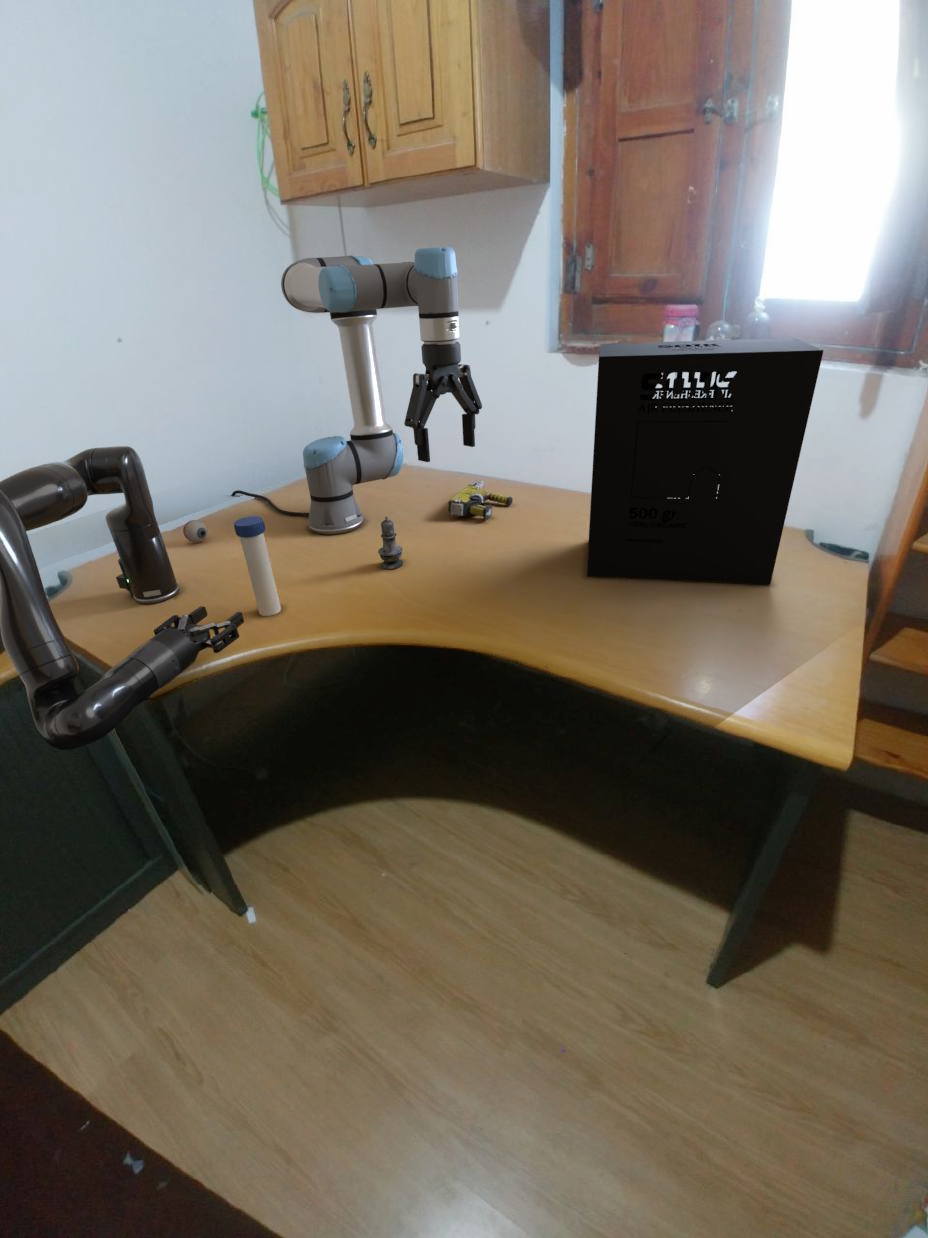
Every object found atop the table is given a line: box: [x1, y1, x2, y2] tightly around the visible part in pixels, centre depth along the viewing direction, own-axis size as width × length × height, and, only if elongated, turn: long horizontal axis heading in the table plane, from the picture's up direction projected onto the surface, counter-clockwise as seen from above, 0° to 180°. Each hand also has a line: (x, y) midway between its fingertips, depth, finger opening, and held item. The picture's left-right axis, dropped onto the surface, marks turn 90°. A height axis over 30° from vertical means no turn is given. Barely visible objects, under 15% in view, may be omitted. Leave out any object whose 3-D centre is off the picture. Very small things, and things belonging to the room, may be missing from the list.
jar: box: [239, 532, 282, 617], centre depth 122 cm, size 4×4×20 cm
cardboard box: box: [586, 337, 824, 586], centre depth 127 cm, size 38×20×45 cm, turn 78°
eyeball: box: [182, 519, 208, 544], centre depth 162 cm, size 6×6×6 cm
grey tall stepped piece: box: [377, 516, 404, 570], centre depth 141 cm, size 6×6×12 cm
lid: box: [233, 515, 266, 538], centre depth 118 cm, size 6×6×2 cm
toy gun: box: [447, 479, 514, 521], centre depth 175 cm, size 5×24×15 cm
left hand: (223, 613), depth 114 cm, fingers open, 8 cm apart
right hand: (447, 453), depth 126 cm, fingers open, 13 cm apart
